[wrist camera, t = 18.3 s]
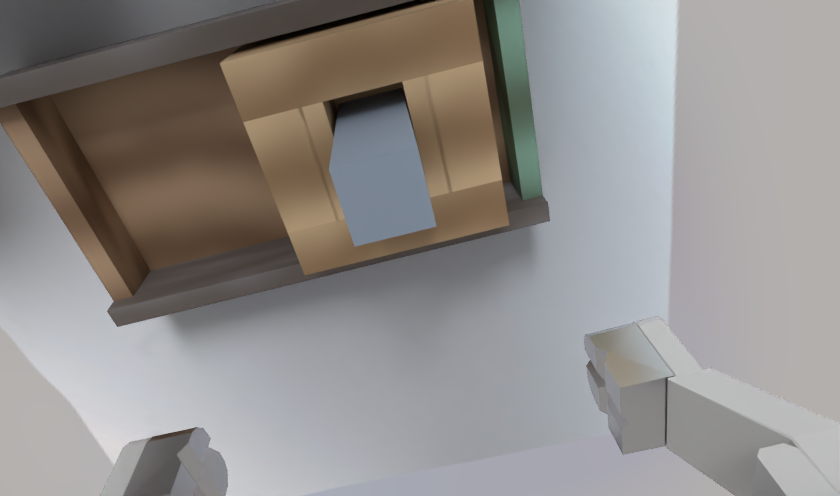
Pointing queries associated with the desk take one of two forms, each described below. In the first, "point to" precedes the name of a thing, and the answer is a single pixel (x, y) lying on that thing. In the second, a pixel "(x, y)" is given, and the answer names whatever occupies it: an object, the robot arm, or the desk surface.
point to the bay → (211, 155)
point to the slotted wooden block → (360, 77)
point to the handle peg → (379, 169)
